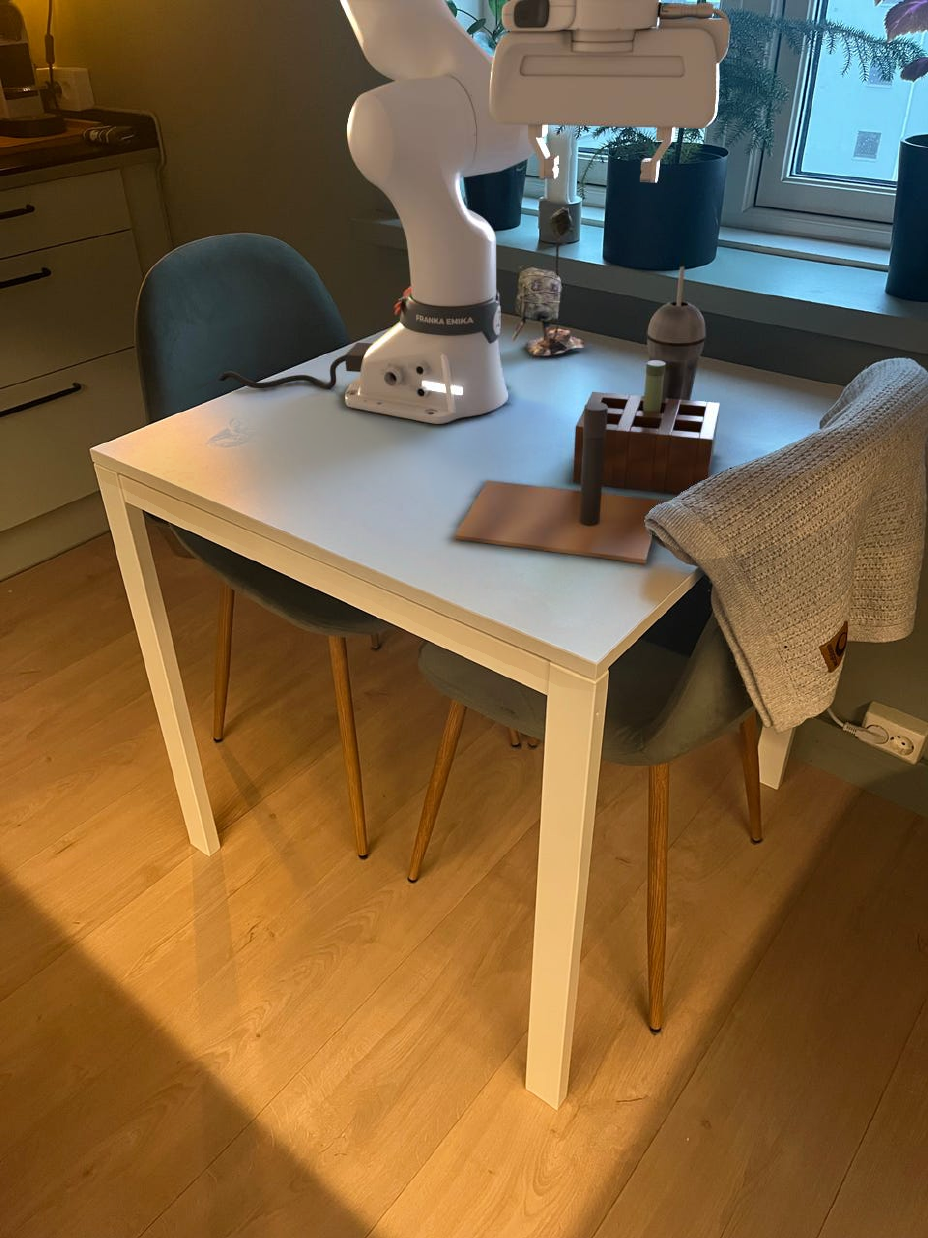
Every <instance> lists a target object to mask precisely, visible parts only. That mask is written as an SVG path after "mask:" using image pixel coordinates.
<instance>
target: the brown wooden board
mask: <svg viewBox="0 0 928 1238" xmlns="http://www.w3.org/2000/svg"><path fill="white" fill-rule="evenodd" d="M580 491H581V490H576V489H575V490H574V489H565V488H556V487H548V486H539V485H529V484H520V483H512V482H503V481H497V480H496V481H494V480H487V481H486V482H485V484H484V485H483V488H482V489H481V490H480V493H479V494H478V496H477V497H476V498H475V501H474V502H473V504H472V506H471V507H470V509H469V511H468V513H467V514H466V516H465V517H464V519H463V521H462V523H461V524H460V526H459V528H458V529H457V531H456V533H455V534H454V539H455V540H460V541H465V542H467V541H468V542H469V541H470V542H474V543H475V542H476V543H483V544H491V545H499V546H504V547H505V546H506V547H512V548H513V547H514V548H522V549H527V550H528V549H529V550H535V551H536V550H538V551H543V552H551V553H559V554H568V555H575V556H583V557H590V558H596V559H598V558H599V559H605V560H613V561H620V562H629V563H635V564H644V565H646V563H647V560H648V556H649V552H650V548H651V546H652V541H653V538H651V537H650V536H649V533H648V531H647V530H646V527H645V522H644V520H645V516H646V515H647V514H648V513H649V511H650V510H651V509H652V508H654V507H655V506H656V505H658V504H660V503H661V504H662V502H663V501H662V500H661V499H653V498H645V497H635V496H626V495H619V494H609V493H602V494H601V509H600V522H599V523H598V524H597V525H594V526H586V525H583V524H581V523H580V522H579V510H580Z"/></svg>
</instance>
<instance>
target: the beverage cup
mask: <svg viewBox="0 0 928 1238" xmlns="http://www.w3.org/2000/svg"><path fill="white" fill-rule="evenodd" d="M684 276H685V266H679V273H678V284H677V293H676V294H677V295H676V300H674V301H670V302H667V303H665V304H663V305H662V306H661V307H660V308H658V309H657V310H656V311H655V312H654V314H653V315H652V316H651V318H650V321H649V324H648V327H647V331H646V334H645V338H646V345H647V353H648V361H651V360H660V361H663V362H665V374H664V380H663V390H662V398H668V399H680V400H691V399H692V393H693V389H694V384H695V379H696V375H697V369H698V366H699V365H698V364H699V360H700V356H701V355H702V352H703V349H704V345H705V341H706V340H707V335H706V334H707V332H706V323H705V318H704V316H703V314H702V313H701V311H700V310H699V309H698V308H697V307H696V306H695V305H693V304H692V303H690V302H688V301H684V300H682V297H683V288H684V287H683V285H684Z"/></svg>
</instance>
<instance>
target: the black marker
mask: <svg viewBox="0 0 928 1238" xmlns="http://www.w3.org/2000/svg"><path fill="white" fill-rule="evenodd" d="M583 410H584V425H583V454H582V473H581V483H580V490H579V491H580V510H579V522H580V523H581V524H583V525H586V526H594V525H597V524H598V523H599V522H600V509H601V494H603V486H602V479H603V464H604V449H605V435H606V427H607V412H608V406H607V405H606V404H604V403H600V402H591V403H586V404H585V405H584V408H583Z"/></svg>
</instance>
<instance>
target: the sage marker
mask: <svg viewBox="0 0 928 1238" xmlns="http://www.w3.org/2000/svg"><path fill="white" fill-rule="evenodd" d="M664 374H665V362H663V361H660V360H651V361H649V360H648V361H646V366H645V383H644V393H643V396H644V403H643V411H645V412H656V413H660V409H661V400H662V390H663V380H664Z"/></svg>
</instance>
